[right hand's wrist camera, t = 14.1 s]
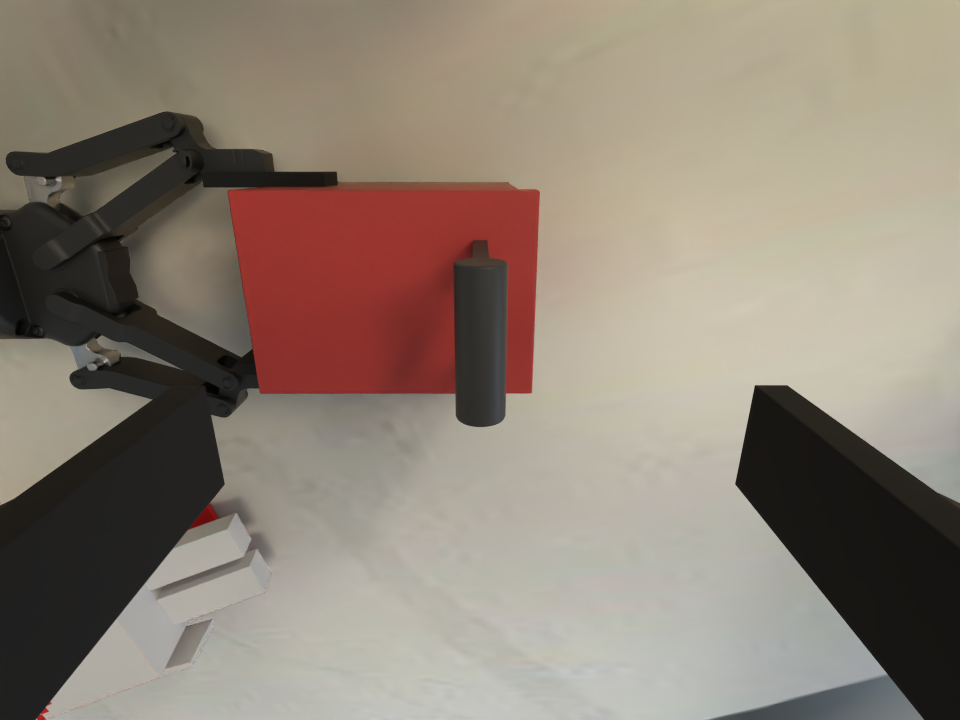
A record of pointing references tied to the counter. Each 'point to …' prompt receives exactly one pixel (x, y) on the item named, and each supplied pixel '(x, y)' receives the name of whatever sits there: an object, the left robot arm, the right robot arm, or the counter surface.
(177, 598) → the toy
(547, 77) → the counter surface
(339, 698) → the counter surface
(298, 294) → the lid
